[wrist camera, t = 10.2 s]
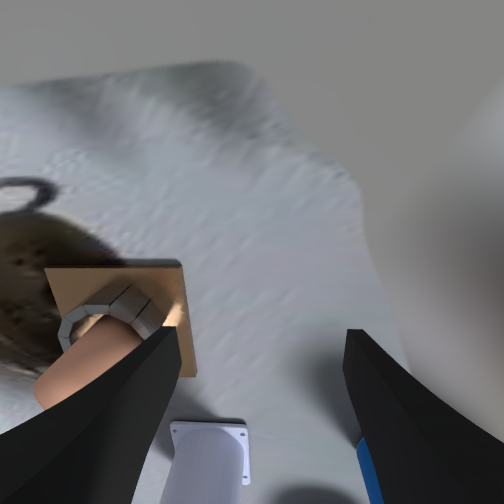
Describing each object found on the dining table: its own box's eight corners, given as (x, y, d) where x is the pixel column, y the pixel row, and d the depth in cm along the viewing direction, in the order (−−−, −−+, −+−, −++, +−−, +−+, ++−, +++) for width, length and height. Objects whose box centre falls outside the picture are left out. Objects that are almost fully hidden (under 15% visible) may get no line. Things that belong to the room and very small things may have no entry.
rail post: (152, 345, 23) (105, 423, 16) (108, 343, 23) (45, 419, 17) (145, 306, 21) (90, 374, 15) (98, 305, 22) (24, 371, 15)
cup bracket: (197, 372, 24) (187, 401, 22) (85, 368, 25) (62, 396, 22) (181, 265, 20) (167, 284, 18) (49, 265, 21) (15, 283, 18)
